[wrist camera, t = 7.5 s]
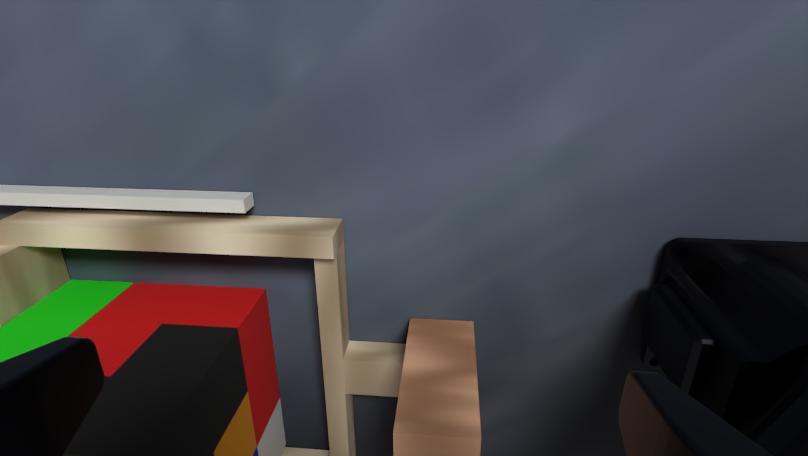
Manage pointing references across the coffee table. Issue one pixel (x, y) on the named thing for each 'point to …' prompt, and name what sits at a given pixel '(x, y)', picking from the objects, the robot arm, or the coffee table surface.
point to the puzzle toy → (166, 367)
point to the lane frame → (127, 198)
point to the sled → (342, 359)
